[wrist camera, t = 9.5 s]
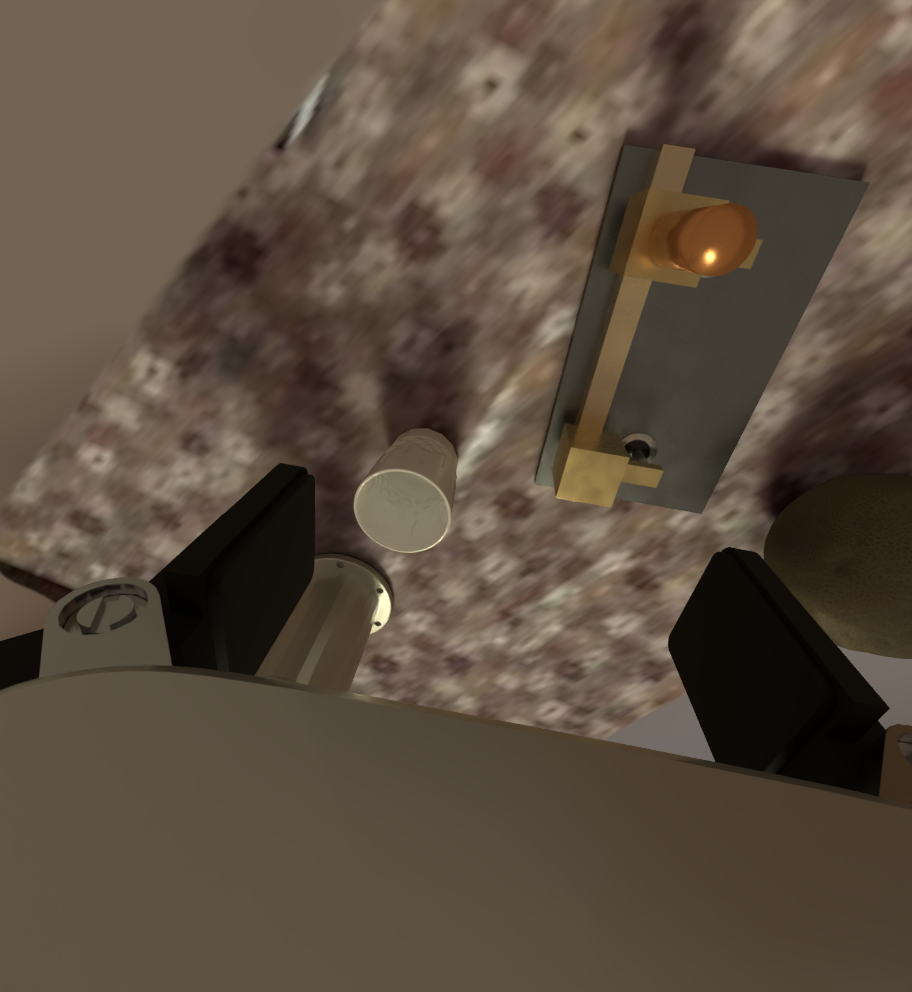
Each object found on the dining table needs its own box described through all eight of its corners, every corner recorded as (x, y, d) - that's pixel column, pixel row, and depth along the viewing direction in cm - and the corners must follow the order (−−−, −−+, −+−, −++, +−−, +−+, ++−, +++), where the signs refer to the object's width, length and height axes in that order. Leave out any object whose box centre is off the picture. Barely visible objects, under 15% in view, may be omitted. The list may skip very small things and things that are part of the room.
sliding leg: (713, 286, 32) (827, 315, 21) (604, 268, 33) (654, 287, 21) (741, 215, 30) (887, 202, 18) (624, 197, 30) (692, 172, 19)
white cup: (437, 407, 41) (416, 452, 32) (478, 474, 44) (469, 532, 35) (369, 443, 44) (333, 493, 35) (412, 505, 47) (389, 565, 38)
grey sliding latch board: (697, 508, 43) (732, 559, 36) (534, 479, 44) (537, 524, 37) (859, 184, 30) (962, 168, 23) (621, 147, 30) (652, 120, 23)
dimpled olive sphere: (924, 524, 41) (1109, 654, 28) (765, 589, 47) (859, 722, 34) (873, 407, 37) (1067, 500, 24) (704, 494, 42) (786, 607, 29)
